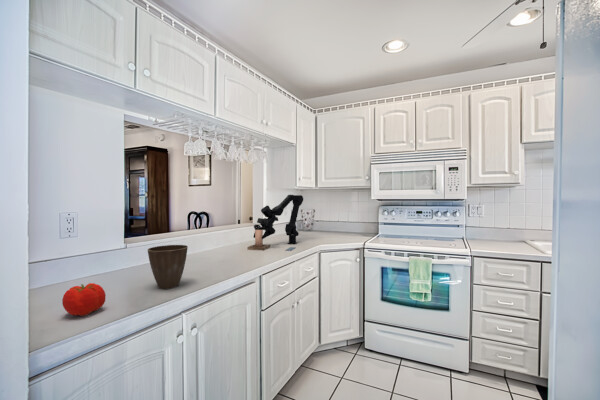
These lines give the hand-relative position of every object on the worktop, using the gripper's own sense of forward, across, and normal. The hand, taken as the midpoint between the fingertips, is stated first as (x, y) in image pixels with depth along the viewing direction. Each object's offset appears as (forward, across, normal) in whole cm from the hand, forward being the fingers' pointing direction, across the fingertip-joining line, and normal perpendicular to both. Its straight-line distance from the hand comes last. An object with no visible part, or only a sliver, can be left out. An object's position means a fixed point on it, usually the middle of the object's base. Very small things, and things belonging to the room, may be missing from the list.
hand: (257, 238), depth 194 cm
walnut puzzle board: (+5, 0, +6) cm, 8 cm away
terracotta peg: (+4, 0, +6) cm, 8 cm away
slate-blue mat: (-5, +13, +16) cm, 21 cm away
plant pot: (+59, +37, -47) cm, 85 cm away
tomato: (+80, +45, -67) cm, 114 cm away
